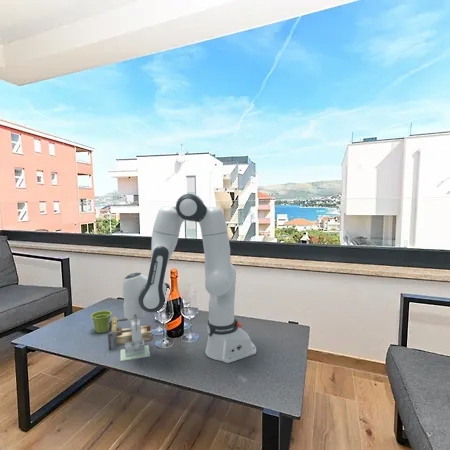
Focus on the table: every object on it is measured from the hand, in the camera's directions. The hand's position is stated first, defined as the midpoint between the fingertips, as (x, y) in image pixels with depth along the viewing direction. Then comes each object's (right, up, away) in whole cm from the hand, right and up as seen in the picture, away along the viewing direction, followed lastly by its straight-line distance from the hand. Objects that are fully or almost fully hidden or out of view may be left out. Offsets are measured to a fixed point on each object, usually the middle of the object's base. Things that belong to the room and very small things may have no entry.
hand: (136, 341), depth 125 cm
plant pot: (-24, -3, +22) cm, 33 cm away
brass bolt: (-13, +4, +10) cm, 17 cm away
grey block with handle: (-1, -5, +1) cm, 5 cm away
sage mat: (-1, -5, +1) cm, 6 cm away
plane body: (-7, -4, +13) cm, 16 cm away
